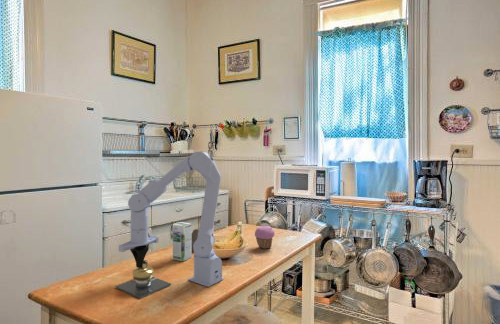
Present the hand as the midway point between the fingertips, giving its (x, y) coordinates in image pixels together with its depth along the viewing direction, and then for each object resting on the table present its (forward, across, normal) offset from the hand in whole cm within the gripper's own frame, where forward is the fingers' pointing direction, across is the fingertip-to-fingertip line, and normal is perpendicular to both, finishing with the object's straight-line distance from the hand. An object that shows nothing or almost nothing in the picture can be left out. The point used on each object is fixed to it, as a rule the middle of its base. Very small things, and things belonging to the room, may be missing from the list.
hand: (139, 267), depth 113 cm
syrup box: (+4, -23, -4) cm, 24 cm away
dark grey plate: (+4, +3, +6) cm, 8 cm away
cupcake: (+4, -55, +15) cm, 57 cm away
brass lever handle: (+1, +1, +4) cm, 4 cm away
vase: (+4, -35, -8) cm, 37 cm away
